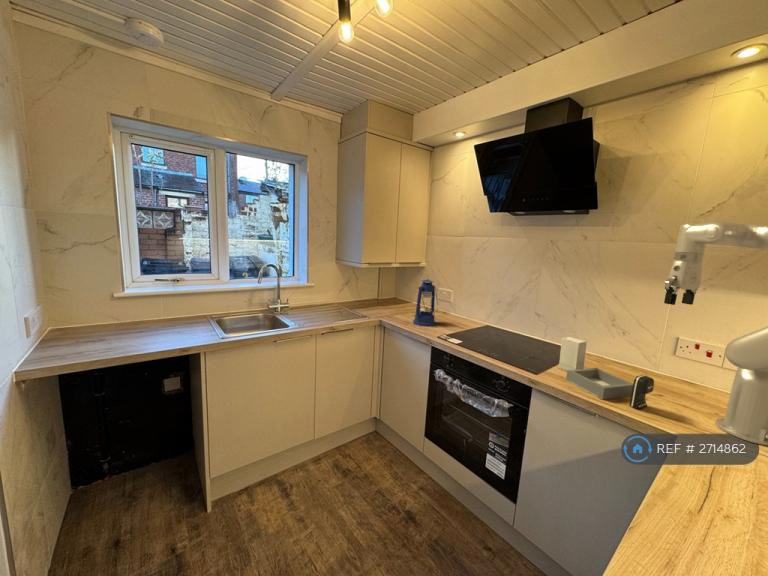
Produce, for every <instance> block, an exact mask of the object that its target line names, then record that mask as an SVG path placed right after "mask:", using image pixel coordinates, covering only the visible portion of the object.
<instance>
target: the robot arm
mask: <svg viewBox="0 0 768 576" xmlns="http://www.w3.org/2000/svg"><path fill="white" fill-rule="evenodd" d="M707 244H708V245H715V246H716V245H717V246H720V245H721V246H731V247H740V248H748V249H756V250H761V251H762V250H764V251H768V225H760V224H748V223H747V224H745V223H739V222H738V223H737V222H731V221H712V222H703V223H701V222H690V223H689V222H688V223H687V222H686V223H683V224H682V225H681V226H680V227H679V231H678V237H677V241H676V246H675V249H674V250H675V252H674V255H673V260H672V261H673V263H672V266H671V269H670V271H669V274H668V279H667V280H665V281H664V284H665V285H664V289H665V292H664V293H665V295H664V302H663V303H664V304H666V305H671V306H672V305H673V306H674V305H676V302H677V301H676V300H677V298H678V297H677V296H678V294H677V292H679V290H680V289H681V290H684V292H683V295H682V299H681V303H682V304H685V305H691V306H692V305H693V304H694V302H695V301H694V300H695V295H696V294H697V290H699V288H700V284H701V280H702V271H703V270H702V269H703V259H704V254H705V249H706V245H707ZM724 356H725V358H726V360H727V361H728V362H729V363H730V364H732V365H733V366H735V367H736V368H737V369H736V370H735V371H736V372H735V375H734V377H733V381H732V386H731V389H730V390H731V391H730V393H729V394H730V395H729V399H728V402H727V405H726V410H725V415H724V418H723V417H721V418H717V419H716V420H715V425H716V426H717V427H718V428H719V429H721V430H722V431H723V432H725V433H727V434H729V435H731V436H734V437H736V438H738V439H741V440H744V441H747V442H750V443H753V444H757V445H762V446H768V326H765V327H762V328H760V329H757V330H755V331H752V332H750V333H747V334H744V335H742V336H738V337H737V338H735V339H732V340H731V341H730V342H728V343H727V344H726V347H725V348H724Z"/></svg>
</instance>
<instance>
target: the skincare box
mask: <svg viewBox="0 0 768 576" xmlns="http://www.w3.org/2000/svg"><path fill="white" fill-rule="evenodd" d="M587 342H588V341H586V340H584V339H579V338H576V337H571V336H567V337H566V336H565V337H562V338H561V342H560V343H561V345H560V351H559V353H560V354H559V362H558V363H559V364H558V369H560V370H563V371H565V372H567V370H576V369H585V361H586V352H587Z"/></svg>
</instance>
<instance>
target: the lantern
mask: <svg viewBox="0 0 768 576" xmlns="http://www.w3.org/2000/svg"><path fill="white" fill-rule="evenodd" d="M421 282H422V283H421V286H418V294H417V299H416V306H415V307H416V309H415V314H414V319H413V320H412V323H413V324H414V325H415V326H419V327H425V328H426V327H434V326H436V321H435V318H436V317H435V315H436V314H435V313H436V312H438V311H439V309H436V311H435V300H436V299H438V296H437V294H436V293H437V289H436V286H435V285H434V284H433V283H434V281H433V280H430V279H422V280H421ZM435 297H436V299H435ZM425 298H427V299H431V300H430V306H428V307H425V306H426V305H425V304H426V303H424V299H425ZM421 299H422V300H421ZM421 301H422V303H423V304H421ZM436 303H437V304H439V301H438V300H436ZM422 305H423V307H421V306H422Z"/></svg>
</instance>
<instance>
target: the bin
mask: <svg viewBox="0 0 768 576" xmlns="http://www.w3.org/2000/svg"><path fill="white" fill-rule="evenodd" d="M565 381H566V382H568V383H570V384H571V385H574V386H576V387H578V388H580V389H581V390H583V391H585V392H586V393H589V394H591V395H593V396H594V397H597V398H599V399H600V400H610V399H619V398H624V397H626V398H628V397H631V394H632V388H633V382H631V381H627V380H625V379H623V378H621V377H618V376H616V375H614V374H612V373H609V372H607V371H605V370H603V369H600V368H598V367H590V368H584V369H576V370H567V371H566V377H565Z"/></svg>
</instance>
